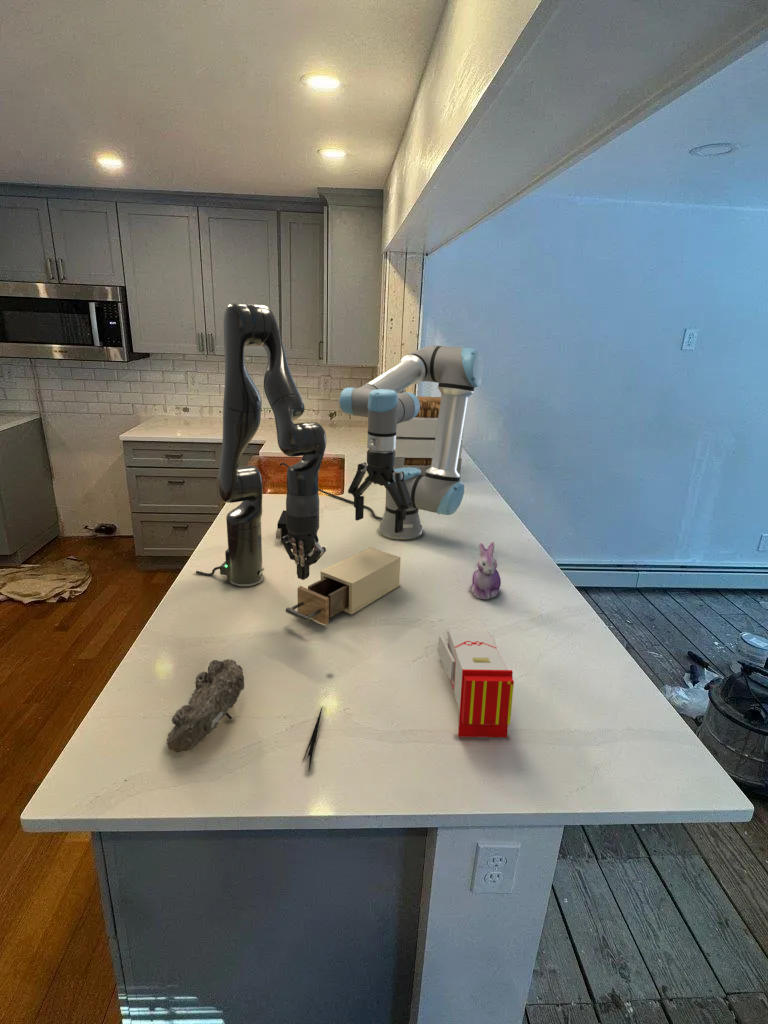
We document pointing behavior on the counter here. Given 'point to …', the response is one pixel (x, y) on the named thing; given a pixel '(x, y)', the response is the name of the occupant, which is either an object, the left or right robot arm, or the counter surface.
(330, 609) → the drawer
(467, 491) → the counter surface
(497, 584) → the figurine
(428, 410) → the white slatted crate
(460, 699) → the toy
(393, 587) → the cabinet
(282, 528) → the black wheeled vehicle
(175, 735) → the fossil
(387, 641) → the counter surface
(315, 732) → the feather
